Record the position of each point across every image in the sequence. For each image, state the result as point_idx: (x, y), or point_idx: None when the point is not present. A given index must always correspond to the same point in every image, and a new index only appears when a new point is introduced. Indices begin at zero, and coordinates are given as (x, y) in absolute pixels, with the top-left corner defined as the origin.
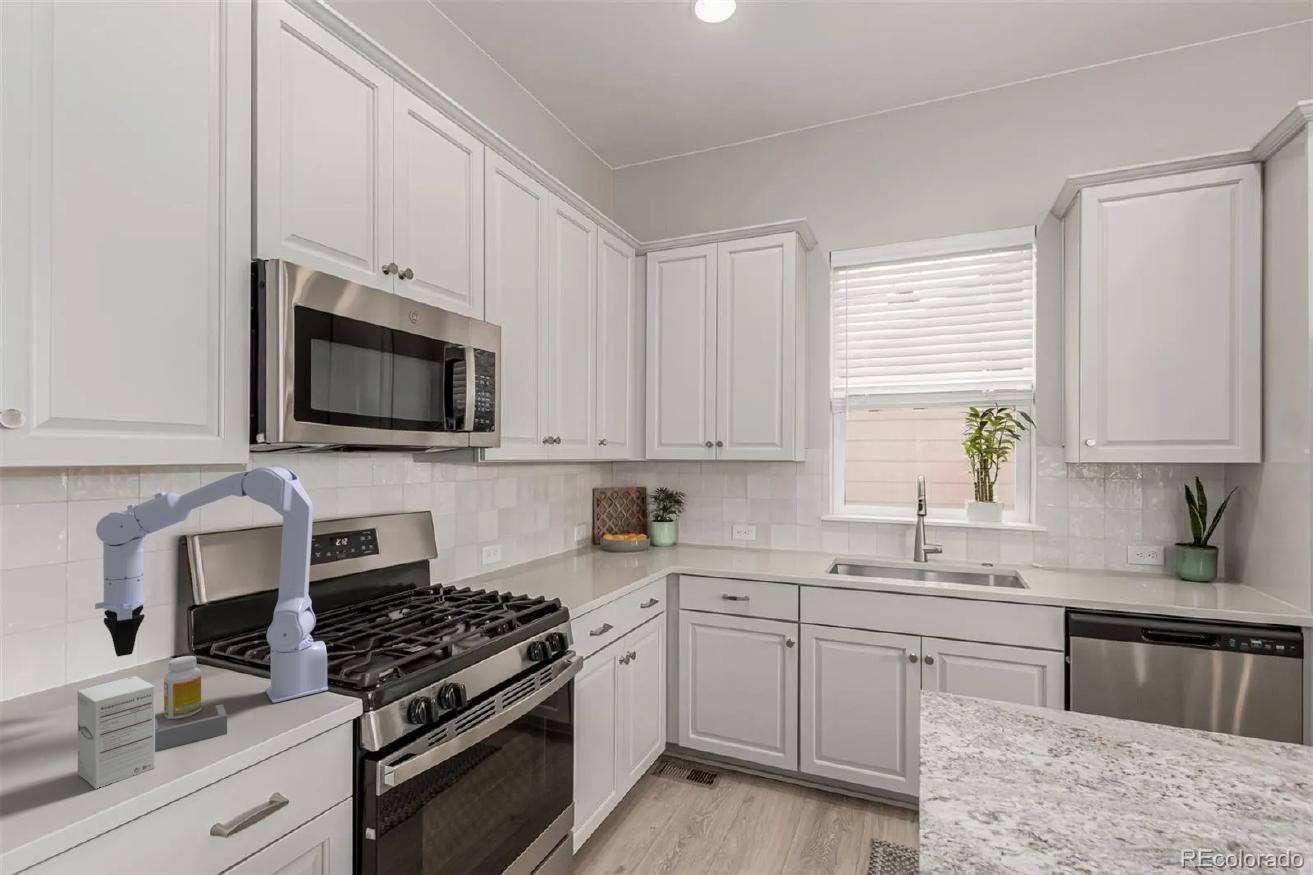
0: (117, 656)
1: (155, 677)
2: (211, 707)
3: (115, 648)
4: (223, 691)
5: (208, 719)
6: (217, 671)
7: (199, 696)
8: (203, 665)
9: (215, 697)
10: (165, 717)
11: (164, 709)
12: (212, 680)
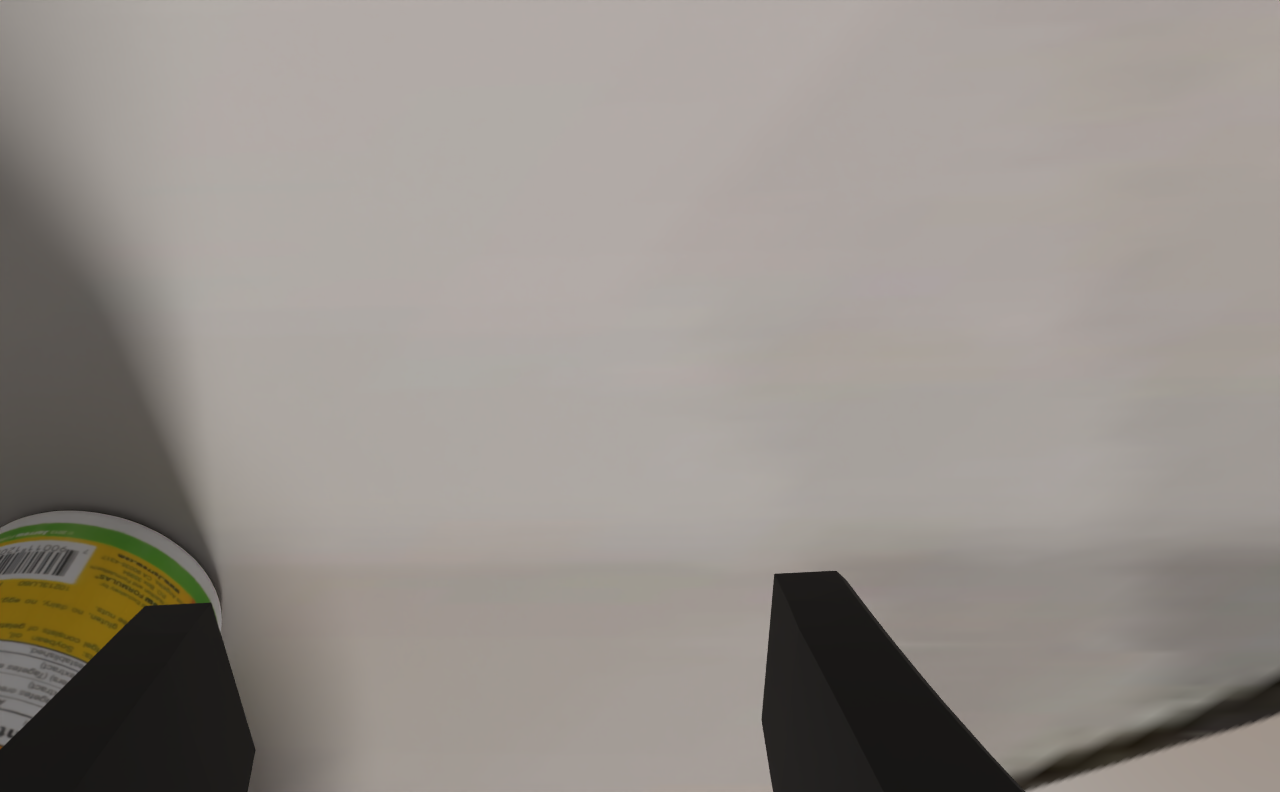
0: (145, 608)
1: (1219, 440)
2: None
3: (25, 726)
4: (457, 778)
5: None
6: None
7: None
8: (1199, 695)
9: (354, 745)
10: (32, 515)
11: (11, 552)
12: None
